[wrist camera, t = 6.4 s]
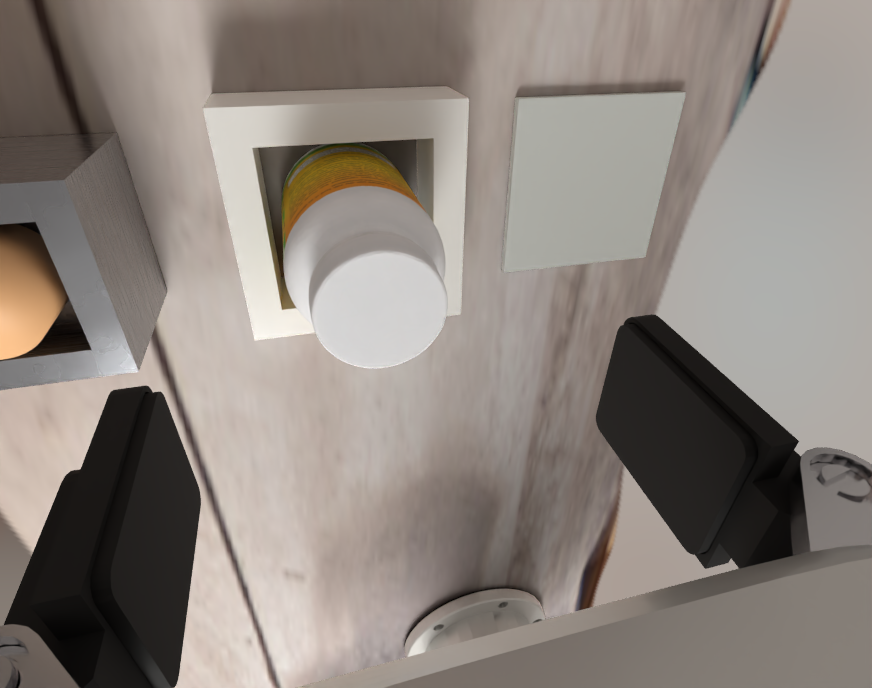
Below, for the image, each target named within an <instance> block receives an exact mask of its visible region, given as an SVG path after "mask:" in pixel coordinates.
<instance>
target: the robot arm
mask: <svg viewBox="0 0 872 688" xmlns="http://www.w3.org/2000/svg"><path fill="white" fill-rule="evenodd" d="M596 422H597V426H598V429H599V430H600V432H601V433H602V435H603V436H604V437H605V439H606V440H607V442H608V443H609V444H610V446H611V447H612V449H613V450H614V451H615V453H616V454H617V456H618V457H619V458H620V460H621V461H622V463H623V464H624V465H625V467H626V468H627V469H628V471H629V472H630V474H631V475H632V476H633V478H634V479H635V480H636V482H637V483H638V485H639V486H640V488H641V489H642V490H643V492H644V493H645V494H646V496H647V497H648V499H649V500H650V501H651V503H652V504H653V506H654V507H655V508H656V510H657V511H658V513H659V514H660V515H661V517H662V518H663V519H664V521H665V522H666V524H667V525H668V526H669V528H670V529H671V531H672V532H673V533H674V535H675V536H676V538H677V539H678V540H679V542H680V543H681V544H682V546H683V547H684V548H685V549H686V551H687V552H689V553H690V554H693V555H694V554H695V555H696V557H697V558H698V560H699V561H700V562H701V564H702V565H703V566H704V568H710V567H714V566H718V565H721V564H725V563H728V562H729V560H730V559H731V558H732V560H733V561H734V562H735V564H736V565H737V566H738V569H736V570H732V571H729V572H725V573H721V574H717V575H713V576H710V577H706V578H702V579H698V580H694V581H690V582H687V583H683V584H679V585H675V586H671V587H668V588H664V589H660V590H656V591H652V592H649V593H645V594H641V595H637V596H633V597H629V598H625V599H622V600H618V601H614V602H611V603H607V604H603V605H599V606H595V607H592V608H588V609H584V610H580V611H577V612H573V613H569V614H565V615H562V616H558V617H554V618H550V619H547V620H546V619H545V613H544V611H543V609H542V607H541V604H540V602H539V601H538V600H537V599H536V597H535V596H533V595H531V594H529V593H527V592H524V591H521V590H517V589H506V588H504V589H491V590H485V591H480V592H476V593H472V594H469V595H466V596H463V597H460V598H458V599H456V600H453V601H451V602H449V603H447V604H445V605H443V606H441V607H439V608H438V609H436V610H435V611H433V612H432V613H430V614H429V615H427V616H426V617H425V618H424V619H423V620H422V621H420V622H419V623H418V624H417V626H416V627H415V628H414V629H413V630H412V631H411V633H410V635H409V637H408V638H407V640H406V643H405V647H404V651H405V658H402V659H399V660H395V661H391V662H388V663H384V664H380V665H377V666H373V667H369V668H366V669H362V670H358V671H355V672H351V673H347V674H344V675H340V676H336V677H333V678H329V679H325V680H322V681H318V682H314V683H311V684H307V685H304V686H301V687H297V688H872V464H870V463H869V462H867V461H865V460H863V459H861V458H859V457H857V456H856V455H853V454H850V453H847V452H845V451H842V450H837V449H832V448H813V449H810V450H807V451H806V452H805V453H804V454H803V455H802V456H800V455H799V454H797V453H796V452H795V451H794V449H795V447H796V445H797V444H798V442H799V441H798V440H797V439H796V438H795V437H794V436H792V435H791V434H790V433H789V432H788V431H787V430H786V429H785V428H783V427H782V426H781V425H780V424H779V423H778V422H777V421H775V420H774V419H773V418H772V417H771V416H770V415H769V414H768V413H767V412H765V411H764V410H763V409H762V408H761V407H760V406H759V405H757V404H756V403H755V402H754V401H753V400H752V399H751V398H749V397H748V396H747V395H746V394H745V393H744V392H743V391H742V390H740V389H739V388H738V387H737V386H736V385H735V384H734V383H733V382H732V381H730V380H729V379H728V378H727V377H726V376H725V375H724V374H722V373H721V372H720V371H719V370H718V369H717V368H716V367H714V366H713V365H712V364H711V363H710V362H709V361H708V360H707V359H706V358H704V357H703V356H702V355H701V354H700V353H699V352H698V351H697V350H695V349H694V348H693V347H692V346H691V345H690V344H689V343H688V342H686V341H685V340H684V339H683V338H682V337H681V336H680V335H678V334H677V333H676V332H675V331H674V330H673V329H672V328H671V327H669V326H668V325H667V324H666V323H665V322H664V321H663V320H662V319H660V318H659V317H658V316H656V315H645V316H638V317H631V318H628V319H627V320H626V321H625V322H624V325H622V326H620V327H619V329H618V331H617V335H616V339H615V343H614V347H613V351H612V355H611V359H610V363H609V367H608V370H607V374H606V378H605V382H604V386H603V390H602V394H601V398H600V402H599V406H598V410H597V414H596ZM200 506H201V498H200V491H199V487H198V484H197V481H196V479H195V476H194V473H193V471H192V468H191V466H190V463H189V460H188V458H187V455H186V452H185V450H184V447H183V444H182V442H181V439H180V437H179V434H178V431H177V429H176V426H175V423H174V421H173V418H172V415H171V413H170V410H169V408H168V405H167V402H166V400H165V397H164V395H163V394H162V392H154V393H153V392H152V390H151V389H150V388H149V386H140V387H133V388H125V389H118V390H113V391H111V393H110V394H109V396H108V399H107V401H106V404H105V407H104V409H103V412H102V415H101V417H100V420H99V423H98V425H97V428H96V430H95V433H94V436H93V438H92V441H91V444H90V446H89V449H88V452H87V454H86V457H85V459H84V462H83V465H82V467H81V469H80V470H74V471H70V472H69V473H68V474H67V475H66V476H65V478H64V479H63V481H62V483H61V485H60V488H59V490H58V493H57V495H56V498H55V500H54V503H53V505H52V507H51V510H50V512H49V515H48V517H47V520H46V522H45V525H44V527H43V530H42V532H41V534H40V537H39V539H38V542H37V544H36V547H35V549H34V552H33V554H32V557H31V559H30V562H29V564H28V566H27V569H26V571H25V574H24V576H23V579H22V581H21V584H20V586H19V589H18V591H17V594H16V596H15V599H14V601H13V603H12V606H11V608H10V611H9V613H8V616H7V618H6V621H5V623H4V625H3V626H0V688H174V687H175V686H176V684H177V681H178V676H179V670H180V662H181V654H182V646H183V638H184V631H185V623H186V615H187V607H188V600H189V592H190V584H191V576H192V569H193V561H194V553H195V545H196V538H197V530H198V522H199V514H200Z"/></svg>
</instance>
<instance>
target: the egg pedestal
mask: <svg viewBox="0 0 872 688" xmlns="http://www.w3.org/2000/svg"><path fill="white" fill-rule="evenodd" d="M13 223H15V224H18V225H21V226H23V227H26V228H28V229H30V230H32V231H34V232H36V233H38V234H40V235H41V236H42V238H43V240H44V242H45V244H46V247H47V249H48V251H49V254H50V256H51V258H52V260H53V263H54V265H55V267H56V269H57V272H58V274H59V276H60V279H61V281H62V283H63V285H64V288H65V290H66V292H67V295H68V297H69V300H68V302H67V303H66V305H65V306H64V308H63V309H62V311H61V312H60V314H59V315H58V317H57V318H56V320H55V321H54V323H53V324H52V326H51V327H50V329H49V330H48V332H47V333H46V335H45V336H44V338H43V339H42V340H41V342H40V343H39V344H38V345H37V346H36V347H34V348H33V349H32V350H30V351H28V352H27V353H25V354H22V355H20V356H17V357H13V358H9V359H3V360H0V390H5V389H12V388H20V387H27V386H35V385H43V384H50V383H58V382H65V381H73V380H80V379H88V378H95V377H103V376H110V375H118V374H126V373H133V372H139V369H140V366H141V363H142V361H143V358H144V355H145V352H146V349H147V347H148V344H149V341H150V338H151V336H152V333H153V330H154V327H155V324H156V322H157V319H158V316H159V313H160V310H161V308H162V305H163V302H164V299H165V296H166V294H167V289H166V286H165V283H164V280H163V277H162V273H161V270H160V267H159V264H158V261H157V258H156V255H155V251H154V248H153V245H152V242H151V239H150V236H149V233H148V229H147V226H146V223H145V220H144V217H143V214H142V210H141V207H140V204H139V201H138V198H137V195H136V192H135V188H134V185H133V182H132V179H131V176H130V173H129V169H128V166H127V163H126V160H125V157H124V154H123V151H122V147H121V144H120V141H119V138H118V135H117V133H95V134H73V135H51V136H28V137H6V138H0V224H13Z"/></svg>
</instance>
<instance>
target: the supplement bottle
mask: <svg viewBox="0 0 872 688" xmlns="http://www.w3.org/2000/svg"><path fill="white" fill-rule="evenodd" d="M281 213H282V232H283V267H284V276H285V282H286V286H287V290H288V292H289V295H290V297H291V299H292V301H293V303H294V305H295V306H296V308H297V309H298V311H299V312H300V313H301V315H302V316H303V317H304V318H305V319H306V320H307V321H308V322H310V323H311V324H312V325H313V328H314V331H315V333H316V335H317V337H318V339H319V341H320V342H321V344H322V345H323V346H324V347H325V349H326V350H327V351H329V352H330V353H331V354H332V355H333V356H335V357H336V358H338V359H339V360H341V361H343V362H345V363H348V364H350V365H353V366H357V367H362V368H372V369H374V368H386V367H392V366H396V365H399V364H402V363H404V362H407V361H409V360H411V359H413V358H415V357H416V356H418V355H419V354H421V353H422V352H423V351H424V350H425V349H427V348H428V347H429V346H430V345H431V344H432V342H433V341H434V340H435V339H436V337H437V336H438V334H439V333H440V331H441V329H442V327H443V325H444V322H445V319H446V315H447V309H448V298H447V292H446V288H445V285H444V282H443V281H444V277H445V267H446V260H445V252H444V247H443V243H442V240H441V237H440V235H439V232H438V230H437V228H436V227H435V225H434V223H433V222H432V220H431V218H430V217H429V215H428V214H427V212H426V211H425V209H424V208H423V207H422V205H421V204H420V202H419V201H418V199H417V198H416V196H415V195H414V193H413V192H412V190H411V189H410V187H409V186H408V184H407V183H406V181H405V180H404V178H403V177H402V175H401V174H400V172H399V171H398V169H397V168H396V167H395V166H394V164H393V163H392V162H391V161H390V160H389V159H388V158H387V157H385V156H384V155H383V154H382V153H380V152H379V151H377V150H375V149H373V148H372V147H369V146H367V145H364V144H361V143H357V142H353V143H334V144H323V145H320V146H318V147H316V148H314V149H312V150H310V151H309V152H307V153H306V154H305V155H303V156H302V157H301V158H300V159H299V160H298V161H297V162H296V163H295V165H294V166H293V167H292V169H291V170H290V172H289V174H288V176H287V178H286V180H285V183H284V186H283V190H282V197H281Z"/></svg>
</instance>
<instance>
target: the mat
mask: <svg viewBox="0 0 872 688" xmlns="http://www.w3.org/2000/svg"><path fill="white" fill-rule="evenodd" d="M685 96H686V92H682V91H671V92H644V93H617V94H590V95H564V96H537V97H515V108H514V120H513V132H512V144H511V156H510V168H509V180H508V192H507V204H506V216H505V228H504V240H503V252H502V264H501V270H502V271H503V273H509V272H518V271H527V270H536V269H545V268H554V267H563V266H572V265H581V264H590V263H599V262H608V261H617V260H626V259H635V258H644V257H645V256H646V252H647V248H648V244H649V240H650V236H651V232H652V228H653V224H654V220H655V216H656V212H657V208H658V204H659V200H660V196H661V192H662V188H663V184H664V180H665V176H666V172H667V168H668V164H669V160H670V156H671V152H672V148H673V144H674V140H675V136H676V132H677V128H678V124H679V120H680V116H681V112H682V108H683V104H684V100H685Z"/></svg>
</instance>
